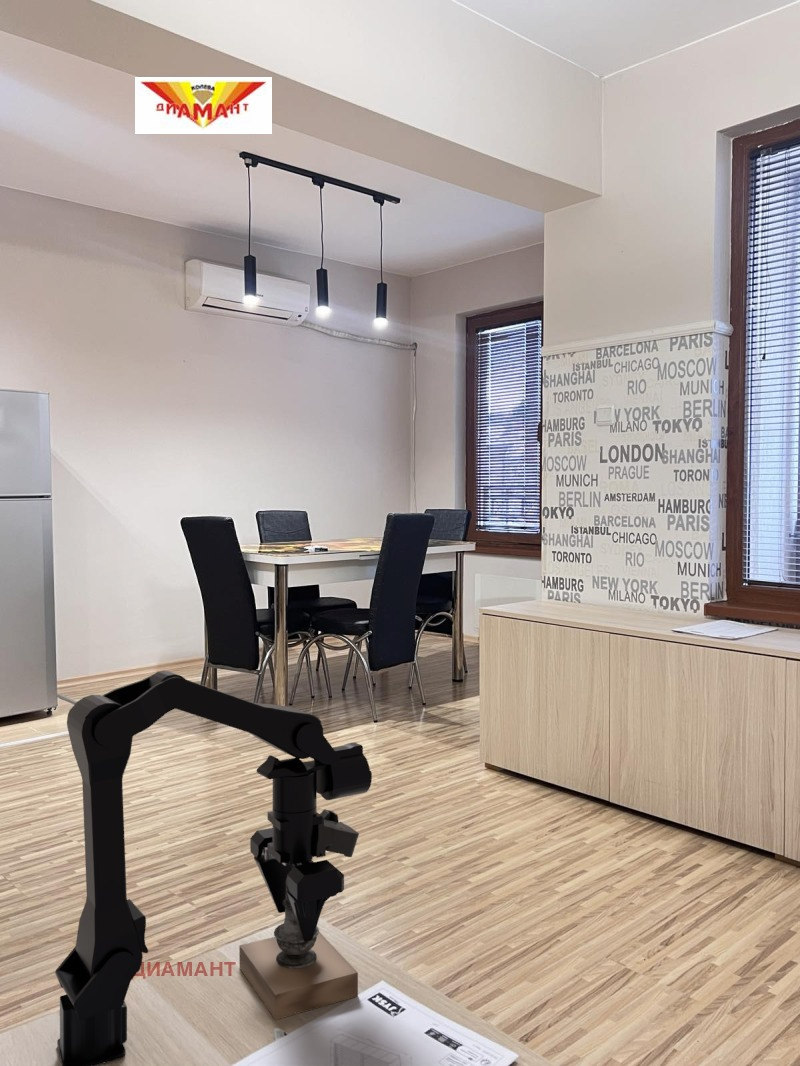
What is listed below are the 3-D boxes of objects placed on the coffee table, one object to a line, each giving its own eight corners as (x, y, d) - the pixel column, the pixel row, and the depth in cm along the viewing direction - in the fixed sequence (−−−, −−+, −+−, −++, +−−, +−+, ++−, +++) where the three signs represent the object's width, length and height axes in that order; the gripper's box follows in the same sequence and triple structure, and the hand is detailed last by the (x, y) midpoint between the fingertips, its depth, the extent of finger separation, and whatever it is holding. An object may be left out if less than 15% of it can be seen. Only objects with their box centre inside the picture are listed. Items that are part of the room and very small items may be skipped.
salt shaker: (269, 951, 113) (270, 861, 113) (313, 944, 115) (313, 855, 115) (278, 973, 108) (278, 878, 108) (323, 965, 110) (324, 872, 110)
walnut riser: (275, 1019, 103) (275, 994, 103) (239, 967, 115) (239, 945, 115) (357, 996, 108) (357, 972, 108) (315, 948, 120) (315, 927, 120)
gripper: (382, 817, 107) (382, 942, 107) (323, 779, 123) (323, 887, 123) (298, 832, 102) (298, 963, 102) (249, 790, 118) (249, 903, 118)
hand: (294, 925), depth 111 cm, fingers open, 9 cm apart
